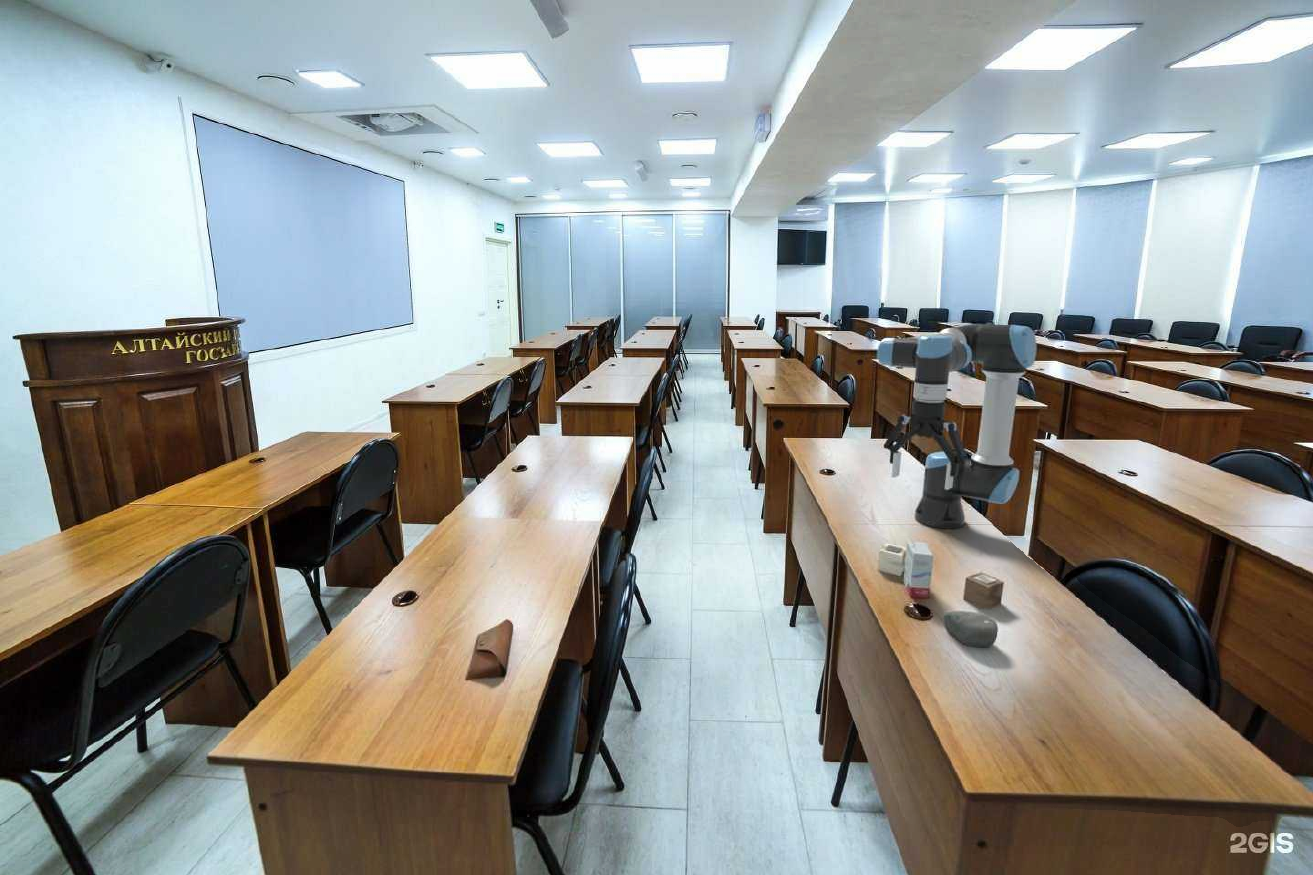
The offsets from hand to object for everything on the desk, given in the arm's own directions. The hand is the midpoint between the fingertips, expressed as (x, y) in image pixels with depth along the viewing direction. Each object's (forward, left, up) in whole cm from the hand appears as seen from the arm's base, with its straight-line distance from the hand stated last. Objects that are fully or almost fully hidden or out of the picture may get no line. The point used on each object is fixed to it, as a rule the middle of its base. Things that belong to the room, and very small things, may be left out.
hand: (921, 482), depth 156 cm
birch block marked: (-4, -7, -28) cm, 29 cm away
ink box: (+3, +3, -28) cm, 29 cm away
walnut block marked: (-3, +17, -28) cm, 33 cm away
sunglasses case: (+96, -49, -29) cm, 112 cm away
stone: (+15, +20, -28) cm, 38 cm away
